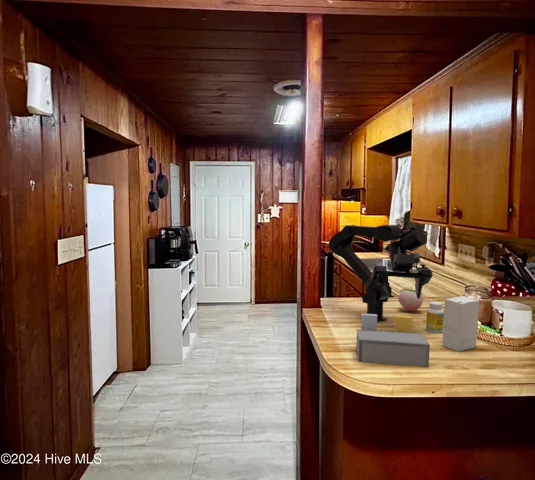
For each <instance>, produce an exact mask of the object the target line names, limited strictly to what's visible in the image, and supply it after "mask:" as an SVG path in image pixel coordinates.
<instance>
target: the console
mask: <svg viewBox="0 0 535 480" xmlns="http://www.w3.org/2000/svg"><path fill="white" fill-rule="evenodd" d="M355 344H356V346H355V347H356V348H355V349H356V355H357V360H358V362H361V363H372V364H373V363H374V364H384V365H385V364H386V365H400V366H413V367H427V368H428V367H429V365H430V349H431V348H430V346H431V345H430V343H429V342H428V340H427V339H426V337H425V336H424V335H423V333H421V332H411V333H407V332H395V331H388V330H377V331H374V330H361V329H356V343H355Z"/></svg>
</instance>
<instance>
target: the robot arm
mask: <svg viewBox="0 0 535 480" xmlns="http://www.w3.org/2000/svg"><path fill="white" fill-rule="evenodd" d="M357 236H358V237H369V238H370V237H371V238H373V239H376V240H378V241H382V242H391V243H387V245H386V246H385V247H384V250H385V251H386V252H388V253H389V257H390V263H389V264H390V265H389V266H391V268H390V269H391V270H390V269H388V267H387V266H386V265H374V267H373V268H372V270H371V269H369V268H368V266H367V265H366V264H365V263H364V262H363V260H361V258H360V257H359V256H358V255H357V254H356V253H355V251H354V250H353V245H352V242H354V239H355V237H357ZM427 243H428V237H427V235H426V234H425V233H424V232H423V231H422V230H420V229H419V227H418V226H412V227H411V228H410V229H409V230H406V231H405V230H403V229H401V228H400V226H399V225H397V224H385V225H378V226H377V225H376V226H365V225H364V226H363V225H355V224H351V225H350V224H347V225H345V226H343V227H342V229H341V230H340V231H338V232H337V233H335V234H334V235H333V236H332V237H331V238H330V239H329V241H328V248H329V250H330V252H332V253H333V254H334V255H336V256H338V257H340V258H342V260H344V261H345V263H346V264H347V265H348V266H349V268H351V270H352V272H354V274H356V275H357V277H358V278H359V279H360V280H361V282H362V283H363V284H364V289H365V293H364V294H363V295H362V296H361V300H362V303H364V304H366V314H377V322H378V321H387V318H386V317H384V315H383V314H384V303H388V301H389V298H390V297H391V296H392V291H393V290H392V287H391V285H390V282H389V277H395V278H404V279H414V280H415V284H414V288H415V290H416V295H417V299H419V298H420V294H421V293H422V289H423V286H425V285H427V284H429V283H430V282H431V280H432V277H433V276H434V275H433V270H432V269H430V268H420V267H419V268H418V270H417V271H411V270H413V266H414V265H415V264H416V265H417V264H419V263H420V262H421V256H420V253H419V252H414V251H416V250H417V249H419V248H422V247H423V246H424V245H426V244H427ZM408 251H409V252H413V253H408ZM421 295H422V294H421Z"/></svg>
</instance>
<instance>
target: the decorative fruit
mask: <svg viewBox="0 0 535 480" xmlns="http://www.w3.org/2000/svg"><path fill="white" fill-rule="evenodd" d="M398 292H400V293H399V295H398V303H399V305H400V306H401V307H402V308H404V310H407V311H408V312H414V311H416V310H418V309H419V308H421V307H422V305H423V301H424V300H423V299H424V298H423V295H424V294H423V293H422V292H421V294H420V298H419V299H417V295H416V289H412V286H411V287H410V289H409V288H401V290H399V291H398Z"/></svg>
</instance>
